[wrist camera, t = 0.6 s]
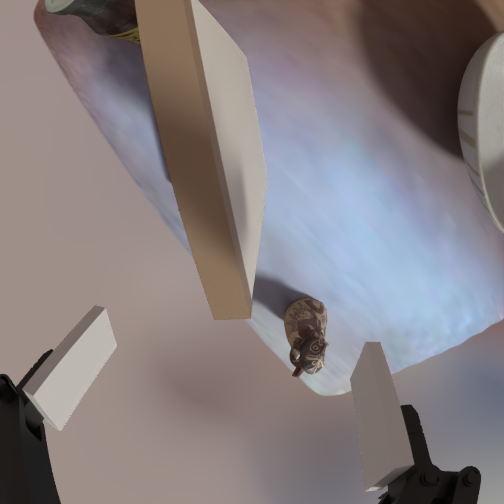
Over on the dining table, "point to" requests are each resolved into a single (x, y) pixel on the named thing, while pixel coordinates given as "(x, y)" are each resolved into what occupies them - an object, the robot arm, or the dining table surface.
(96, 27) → the sauce bottle
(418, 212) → the dining table surface
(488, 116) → the decorative bowl
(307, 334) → the figurine
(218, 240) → the upright board stand
